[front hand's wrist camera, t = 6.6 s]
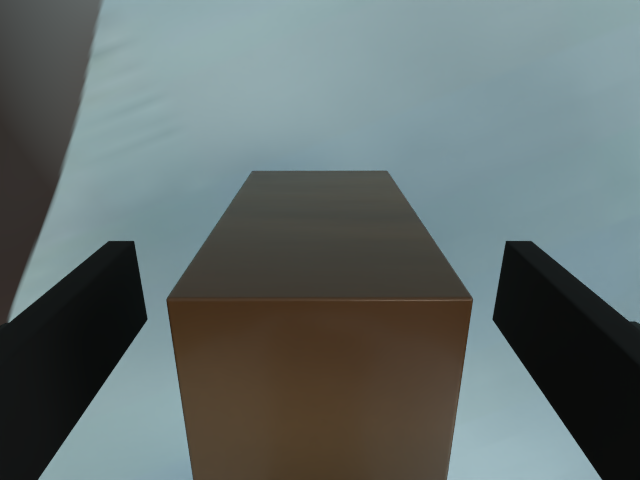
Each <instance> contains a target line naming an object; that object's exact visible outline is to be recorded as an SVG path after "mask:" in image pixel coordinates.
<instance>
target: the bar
mask: <svg viewBox="0 0 640 480" xmlns="http://www.w3.org/2000/svg"><path fill="white" fill-rule="evenodd" d="M166 301H167V308H168V314H169V321H170V328H171V334H172V341H173V348H174V354H175V361H176V368H177V374H178V381H179V388H180V394H181V401H182V408H183V414H184V421H185V428H186V434H187V441H188V448H189V455H190V461H191V468H192V475H193V480H447V474H448V468H449V461H450V454H451V447H452V440H453V433H454V426H455V420H456V413H457V406H458V399H459V392H460V385H461V378H462V371H463V365H464V358H465V351H466V344H467V337H468V330H469V323H470V317H471V310H472V303H473V298H472V296H471V295H470V293H469V292H468V290H467V289H466V287H465V286H464V284H463V283H462V281H461V280H460V278H459V277H458V275H457V274H456V273H455V271H454V270H453V268H452V267H451V265H450V264H449V262H448V261H447V259H446V258H445V256H444V255H443V253H442V252H441V250H440V249H439V247H438V246H437V244H436V243H435V241H434V240H433V238H432V237H431V235H430V234H429V232H428V231H427V229H426V228H425V226H424V225H423V223H422V222H421V220H420V219H419V217H418V216H417V214H416V213H415V211H414V210H413V208H412V207H411V205H410V204H409V202H408V201H407V199H406V198H405V196H404V195H403V193H402V192H401V191H400V189H399V188H398V186H397V185H396V183H395V182H394V180H393V179H392V177H391V176H390V174H389V173H388V171H252V172H251V174H250V175H249V177H248V178H247V180H246V181H245V183H244V184H243V186H242V187H241V189H240V190H239V192H238V193H237V195H236V196H235V197H234V199H233V200H232V202H231V203H230V205H229V206H228V208H227V209H226V211H225V212H224V214H223V215H222V217H221V218H220V220H219V221H218V223H217V224H216V226H215V227H214V229H213V230H212V232H211V233H210V235H209V236H208V238H207V239H206V241H205V242H204V244H203V245H202V247H201V248H200V250H199V251H198V253H197V254H196V256H195V257H194V259H193V260H192V262H191V263H190V265H189V266H188V268H187V269H186V270H185V272H184V273H183V275H182V276H181V278H180V279H179V281H178V282H177V284H176V285H175V287H174V288H173V290H172V291H171V293H170V294H169V296H168V297H167V300H166Z"/></svg>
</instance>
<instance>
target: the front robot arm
mask: <svg viewBox="0 0 640 480" xmlns="http://www.w3.org/2000/svg"><path fill="white" fill-rule="evenodd" d="M146 321H147V314H146V308H145V302H144V296H143V290H142V285H141V279H140V273H139V267H138V261H137V256H136V250H135V244H134V241H108V242H107V243H106V244H105V245H103V246H102V247H101V248H100V249H98V250H97V251H96V252H95V253H94V254H92V255H91V256H90V257H89V258H88V259H86V260H85V261H84V262H83V263H81V264H80V265H79V266H78V267H77V268H75V269H74V270H73V271H72V272H71V273H69V274H68V275H67V276H66V277H64V278H63V279H62V280H61V281H60V282H58V283H57V284H56V285H55V286H53V287H52V288H51V289H50V290H49V291H47V292H46V293H45V294H44V295H43V296H41V297H40V298H39V299H38V300H36V301H35V302H34V303H33V304H32V305H30V306H29V307H28V308H27V309H25V310H24V311H23V312H22V313H21V314H19V315H18V316H17V317H16V318H15V319H13V320H12V321H11V322H10V323H5V324H3V325H1V326H0V480H38V479H39V477H40V476H41V474H42V473H43V471H44V470H45V468H46V467H47V466H48V464H49V463H50V461H51V460H52V458H53V457H54V455H55V454H56V452H57V451H58V449H59V448H60V447H61V445H62V444H63V442H64V441H65V439H66V438H67V436H68V435H69V433H70V432H71V430H72V429H73V428H74V426H75V425H76V423H77V422H78V420H79V419H80V417H81V416H82V414H83V413H84V412H85V410H86V409H87V407H88V406H89V404H90V403H91V401H92V400H93V398H94V397H95V395H96V394H97V393H98V391H99V390H100V388H101V387H102V385H103V384H104V382H105V381H106V379H107V378H108V376H109V375H110V374H111V372H112V371H113V369H114V368H115V366H116V365H117V363H118V362H119V360H120V359H121V357H122V356H123V355H124V353H125V352H126V350H127V349H128V347H129V346H130V344H131V343H132V341H133V340H134V338H135V337H136V336H137V334H138V333H139V331H140V330H141V328H142V327H143V325H144V324H145V322H146ZM493 321H494V322H495V324H496V325H497V327H498V328H499V330H500V331H501V333H502V334H503V336H504V337H505V338H506V340H507V341H508V343H509V344H510V346H511V347H512V349H513V350H514V352H515V353H516V355H517V356H518V357H519V359H520V360H521V362H522V363H523V365H524V366H525V368H526V369H527V371H528V372H529V374H530V375H531V376H532V378H533V379H534V381H535V382H536V384H537V385H538V387H539V388H540V390H541V391H542V393H543V394H544V395H545V397H546V398H547V400H548V401H549V403H550V404H551V406H552V407H553V409H554V410H555V411H556V413H557V414H558V416H559V417H560V419H561V420H562V422H563V423H564V425H565V426H566V428H567V429H568V430H569V432H570V433H571V435H572V436H573V438H574V439H575V441H576V442H577V444H578V445H579V447H580V448H581V449H582V451H583V452H584V454H585V455H586V457H587V458H588V460H589V461H590V463H591V464H592V466H593V467H594V468H595V470H596V471H597V473H598V474H599V476H600V477H601V479H602V480H640V324H639V323H637V322H629V321H628V320H627V319H625V318H624V317H623V316H622V315H621V314H619V313H618V312H617V311H616V310H615V309H613V308H612V307H611V306H610V305H608V304H607V303H606V302H605V301H604V300H602V299H601V298H600V297H599V296H597V295H596V294H595V293H594V292H593V291H591V290H590V289H589V288H588V287H587V286H585V285H584V284H583V283H582V282H580V281H579V280H578V279H577V278H576V277H574V276H573V275H572V274H571V273H570V272H568V271H567V270H566V269H565V268H563V267H562V266H561V265H560V264H559V263H557V262H556V261H555V260H554V259H552V258H551V257H550V256H549V255H548V254H546V253H545V252H544V251H543V250H542V249H540V248H539V247H538V246H537V245H535V244H534V243H533V242H532V241H506V244H505V250H504V256H503V261H502V267H501V273H500V279H499V285H498V290H497V296H496V302H495V308H494V314H493Z"/></svg>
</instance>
